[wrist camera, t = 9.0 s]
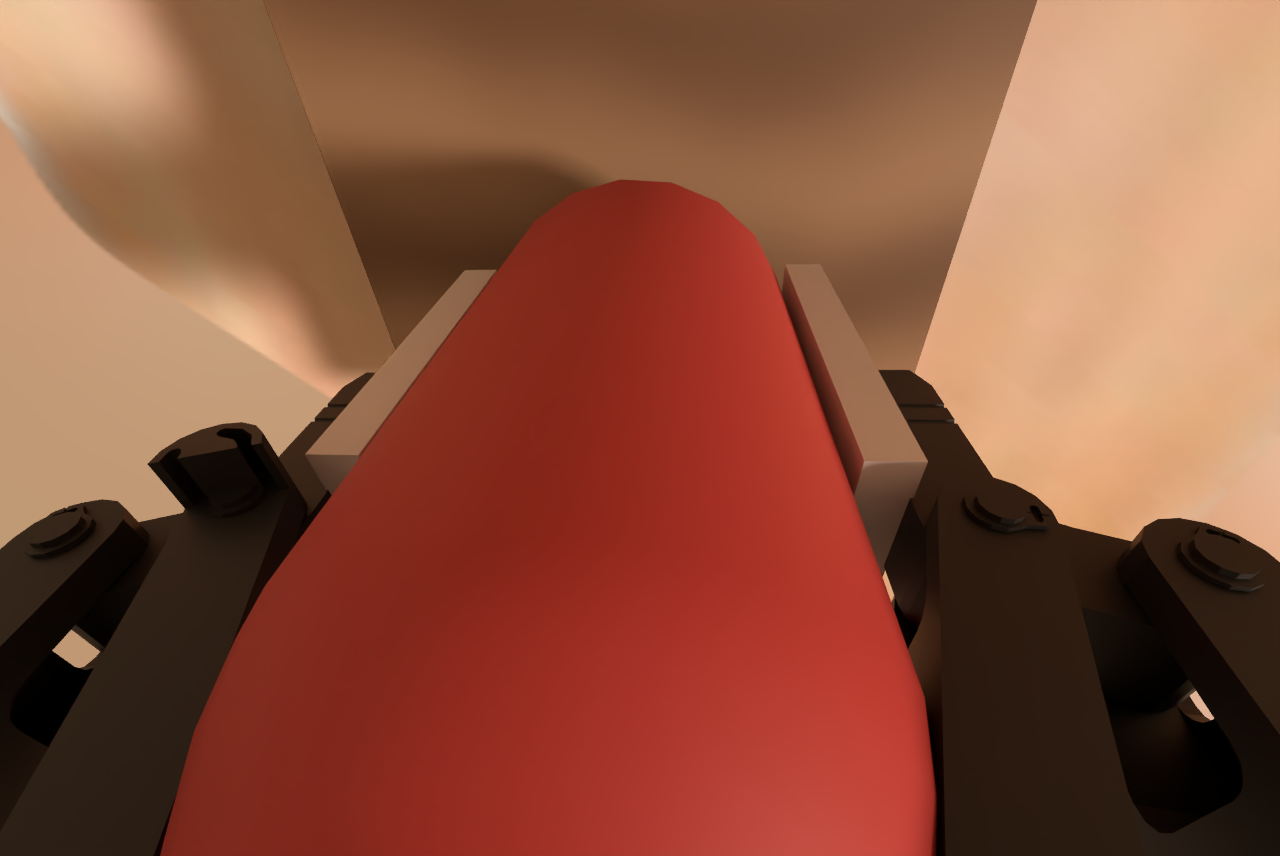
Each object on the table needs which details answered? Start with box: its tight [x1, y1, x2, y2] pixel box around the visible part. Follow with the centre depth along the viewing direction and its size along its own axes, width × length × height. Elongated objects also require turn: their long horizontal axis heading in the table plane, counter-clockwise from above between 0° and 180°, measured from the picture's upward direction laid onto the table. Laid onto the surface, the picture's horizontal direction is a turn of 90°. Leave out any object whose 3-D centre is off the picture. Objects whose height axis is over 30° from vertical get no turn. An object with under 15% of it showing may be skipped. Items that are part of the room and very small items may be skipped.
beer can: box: [160, 179, 937, 856], centre depth 8 cm, size 7×7×12 cm
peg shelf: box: [263, 0, 1037, 373], centre depth 17 cm, size 16×16×8 cm
